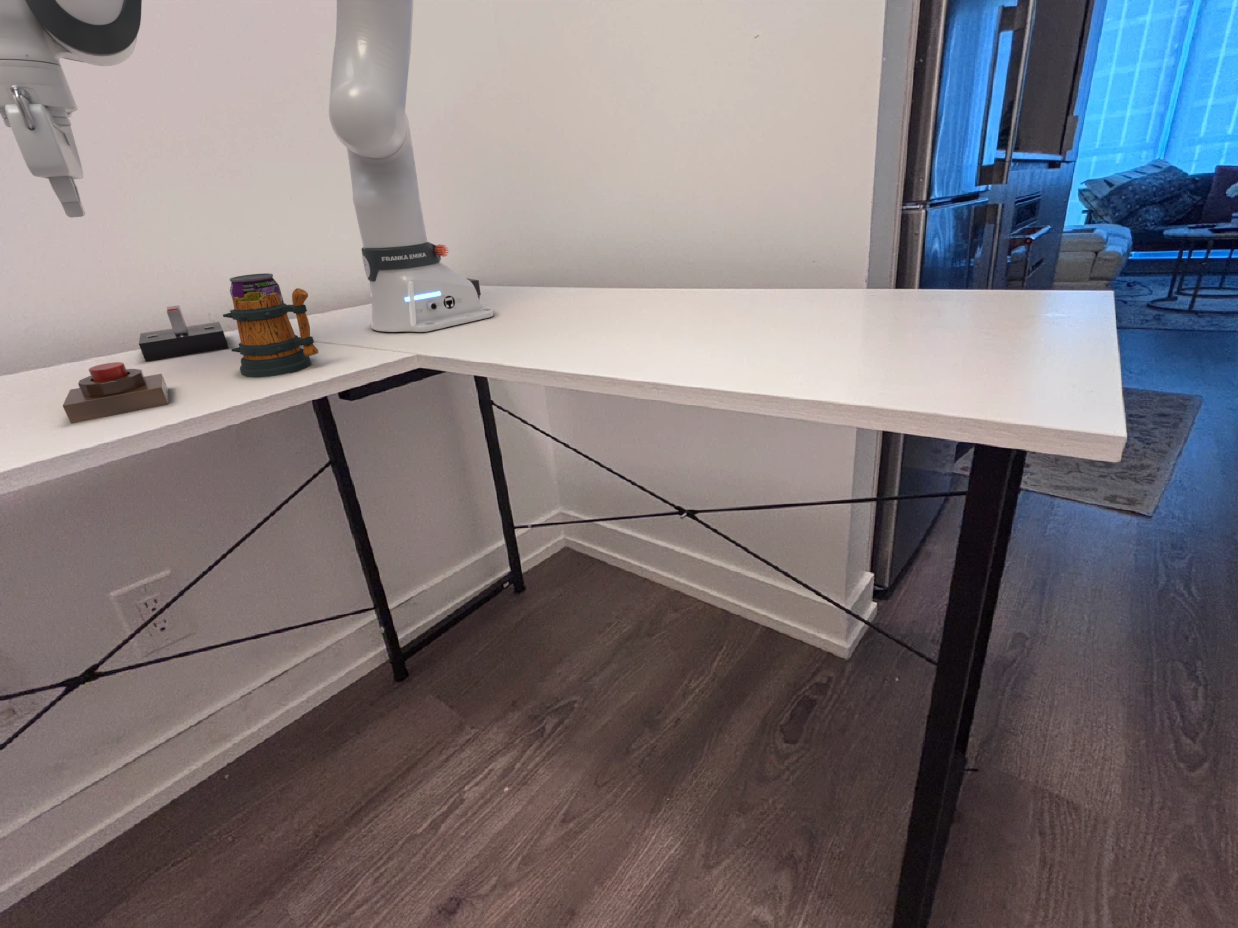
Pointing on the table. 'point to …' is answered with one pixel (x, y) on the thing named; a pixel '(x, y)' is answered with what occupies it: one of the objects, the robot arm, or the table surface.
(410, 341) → the table surface
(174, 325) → the tilted grey flap
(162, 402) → the block
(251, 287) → the beverage can
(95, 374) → the button
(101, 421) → the table surface
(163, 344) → the black flat block
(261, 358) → the mug
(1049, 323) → the table surface
